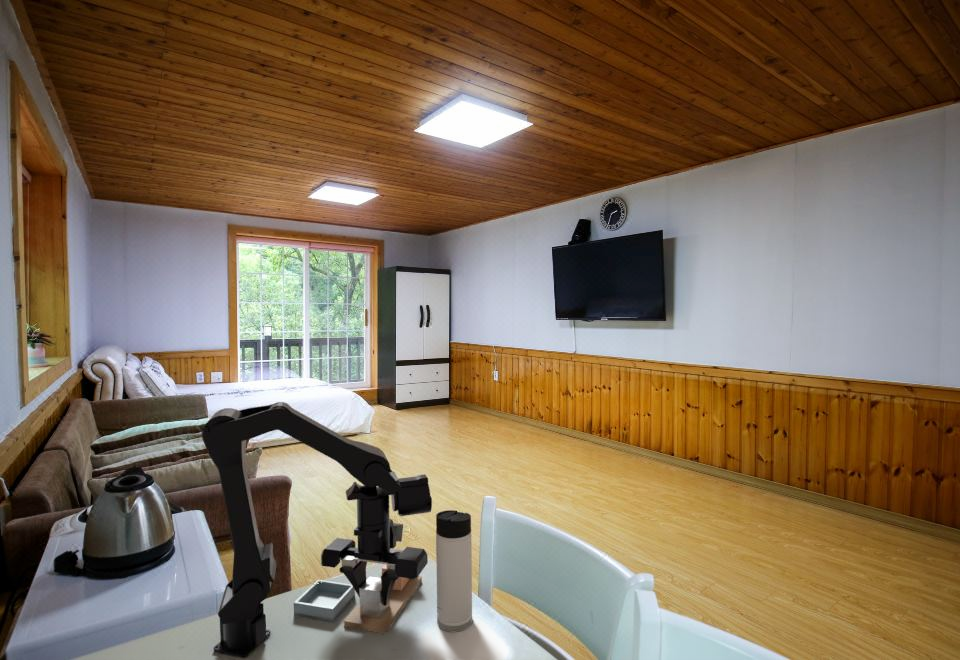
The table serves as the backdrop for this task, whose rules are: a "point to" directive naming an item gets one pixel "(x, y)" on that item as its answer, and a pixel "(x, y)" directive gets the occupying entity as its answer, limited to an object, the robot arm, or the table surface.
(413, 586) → the rail base
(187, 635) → the table surface
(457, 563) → the travel mug
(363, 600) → the block
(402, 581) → the block
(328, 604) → the tray
